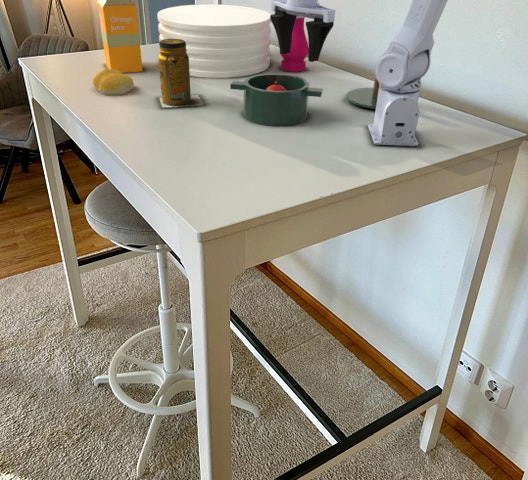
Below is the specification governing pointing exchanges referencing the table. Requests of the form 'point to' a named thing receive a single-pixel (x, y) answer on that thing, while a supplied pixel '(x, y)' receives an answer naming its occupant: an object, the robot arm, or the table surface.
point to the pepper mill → (296, 49)
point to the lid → (364, 96)
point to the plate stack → (220, 38)
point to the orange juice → (120, 35)
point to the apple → (276, 87)
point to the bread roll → (112, 82)
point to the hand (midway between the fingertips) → (299, 57)
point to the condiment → (175, 75)
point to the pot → (276, 99)
